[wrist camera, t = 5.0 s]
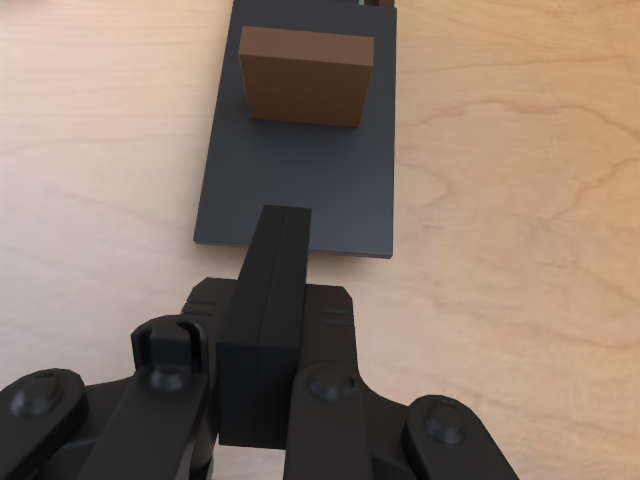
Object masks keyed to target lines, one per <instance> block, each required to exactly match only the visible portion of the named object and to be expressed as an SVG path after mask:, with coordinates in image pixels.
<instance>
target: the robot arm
mask: <svg viewBox="0 0 640 480" xmlns="http://www.w3.org/2000/svg"><path fill="white" fill-rule="evenodd" d="M311 211H312V208H301V207H289V206H277V205H265V204H264V207H263V209H262V212H261V215H260V218H259V221H258V223H257V226H256V229H255V232H254V235H253V237H252V240H251V243H250V246H249V249H248V252H247V254H246V257H245V260H244V263H243V266H242V268H241V271H240V274H239V277H238V280H235V279H223V278H210V277H207V278H205V279H204V280H203V281H201V282H200V283H199V284H197V285H196V286H195V287H193V289H192V291H191V293H190V295H189V297H188V299H187V303H185V305H184V307H183V309H182V311H181V314H180V315H165V316H161V317H158V318H154V319H151V320H149V321H147V322H145V323H144V324H142V325H140V326H139V327H138V328H137V329H136V330H135V331H134V332H133V333H132V334H131V342H132V348H133V355H134V362H135V369H136V371H135V373H134V375H133V376H131V377H128V378H126V379H122V380H118V381H113V382H107V383H101V384H95V385H89V386H84V383H83V381H82V379H81V377H80V375H79V374H77V373H75V372H73V371H71V370H68V369H58V368H53V369H47V370H40V371H37V372H34V373H31V374H29V375H26V376H23V377H21V378H20V379H18V380H16V381H15V382H13V383H12V384H10V385H9V386H7V387H6V388H4V389H3V390H2V391H1V392H0V480H211V477H212V473H213V449H214V445H215V442H216V438H217V434H218V433H219V445H225V446H239V447H253V448H267V449H281V450H286V455H285V464H284V474H283V480H520V479H519V478H518V476H517V475H516V473H515V472H514V470H513V469H512V467H511V466H510V464H509V463H508V461H507V460H506V458H505V457H504V455H503V454H502V452H501V451H500V449H499V448H498V446H497V445H496V443H495V441H494V440H493V438H492V437H491V435H490V434H489V432H488V431H487V429H486V428H485V426H484V425H483V423H482V422H481V420H480V419H479V418H478V417H477V416H476V415H475V413H474V412H473V411H472V410H471V409H470V408H469V407H467V406H465V405H464V404H462V403H461V402H459V401H458V400H455V399H452V398H449V397H446V396H443V395H426V396H423V397H419V398H417V399H416V400H415V401H414V402H413V403H411V404H410V405H409V407H408V406H405V405H403V404H400V403H397V402H394V401H391V400H389V399H386V398H384V397H382V396H380V395H378V394H377V393H375V392H374V391H372V390H371V389H370V388H369V387H368V386H367V385H366V384H365V383H364V381H363V380H362V378H361V376H360V374H359V370H358V362H357V350H356V338H355V326H354V315H353V302H352V298H351V296H350V295H349V294H348V292H347V291H346V290H345V288H344V287H341V286H328V285H316V284H306V275H307V262H308V249H309V237H310V224H311Z"/></svg>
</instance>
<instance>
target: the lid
mask: <svg viewBox="0 0 640 480" xmlns="http://www.w3.org/2000/svg"><path fill="white" fill-rule="evenodd" d="M396 23H397V8H392V7H381V6H370V5H359V4H348V3H337V2H326V1H315V0H234V1H233V7H232V13H231V19H230V25H229V31H228V37H227V43H226V49H225V55H224V61H223V67H222V72H221V78H220V84H219V90H218V96H217V102H216V108H215V114H214V120H213V126H212V132H211V137H210V143H209V149H208V155H207V161H206V167H205V173H204V179H203V185H202V191H201V197H200V203H199V208H198V214H197V220H196V226H195V232H194V238H193V241H194V242H195V243H196V244H205V245H218V246H231V247H243V248H249V246H250V243H251V240H252V237H253V235H254V232H255V229H256V226H257V223H258V221H259V218H260V215H261V212H262V209H263V207H264V204H265V205H277V206H289V207H301V208H312V211H311V224H310V237H309V249H308V253H320V254H332V255H345V256H358V257H370V258H383V259H391V257H392V256H393V200H394V141H395V82H396Z"/></svg>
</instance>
